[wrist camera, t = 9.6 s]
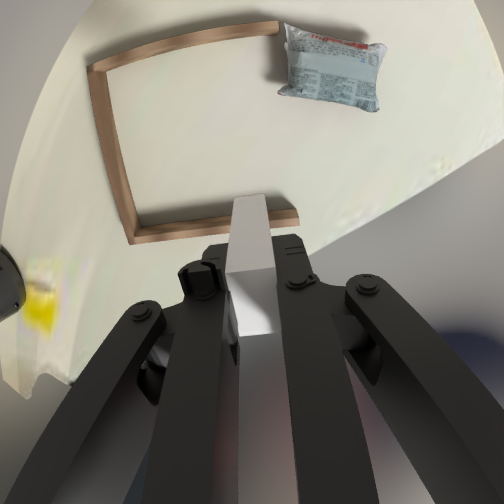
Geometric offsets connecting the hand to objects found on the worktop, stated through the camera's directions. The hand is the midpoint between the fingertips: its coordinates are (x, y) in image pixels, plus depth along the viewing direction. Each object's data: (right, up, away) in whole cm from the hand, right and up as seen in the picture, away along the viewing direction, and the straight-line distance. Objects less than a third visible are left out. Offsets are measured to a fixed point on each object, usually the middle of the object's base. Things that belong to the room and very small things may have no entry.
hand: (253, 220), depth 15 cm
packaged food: (+12, +21, +13) cm, 28 cm away
